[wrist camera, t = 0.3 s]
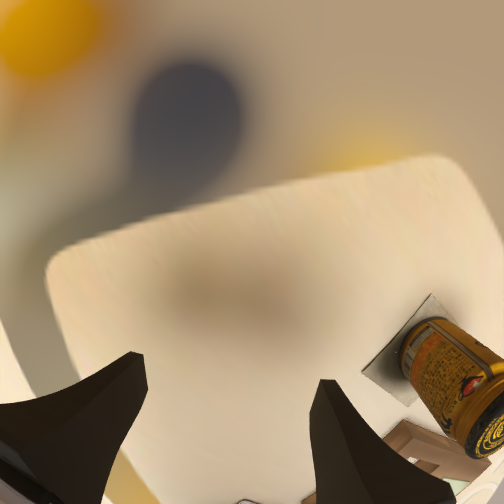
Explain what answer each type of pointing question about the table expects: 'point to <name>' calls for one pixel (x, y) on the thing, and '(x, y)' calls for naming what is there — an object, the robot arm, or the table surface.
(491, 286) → the table surface
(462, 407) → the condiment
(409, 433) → the board
